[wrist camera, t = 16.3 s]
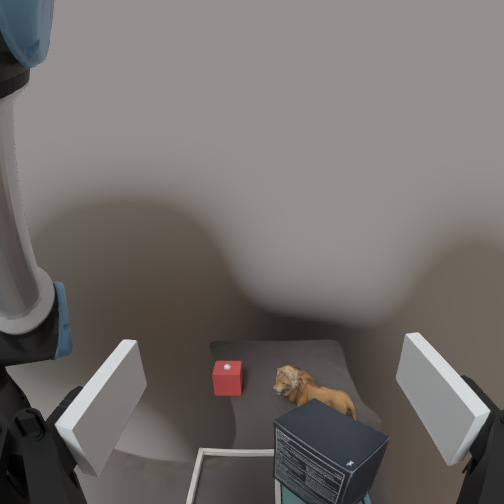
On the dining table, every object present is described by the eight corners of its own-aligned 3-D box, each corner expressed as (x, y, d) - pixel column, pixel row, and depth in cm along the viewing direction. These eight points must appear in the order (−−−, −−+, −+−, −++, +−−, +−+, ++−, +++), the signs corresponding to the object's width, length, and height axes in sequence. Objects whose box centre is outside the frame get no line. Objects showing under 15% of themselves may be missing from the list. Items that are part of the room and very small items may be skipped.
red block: (215, 395, 47) (211, 371, 46) (218, 380, 52) (215, 357, 51) (241, 395, 47) (239, 371, 46) (242, 381, 52) (241, 358, 51)
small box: (372, 491, 24) (394, 434, 22) (333, 525, 20) (352, 476, 18) (309, 452, 32) (315, 394, 30) (270, 476, 28) (270, 420, 26)
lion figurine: (268, 419, 41) (267, 373, 39) (284, 400, 45) (284, 355, 44) (360, 443, 33) (372, 396, 31) (369, 420, 38) (380, 374, 36)
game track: (180, 533, 20) (179, 530, 20) (200, 451, 34) (199, 447, 34) (374, 525, 19) (376, 522, 19) (351, 445, 33) (352, 442, 33)
